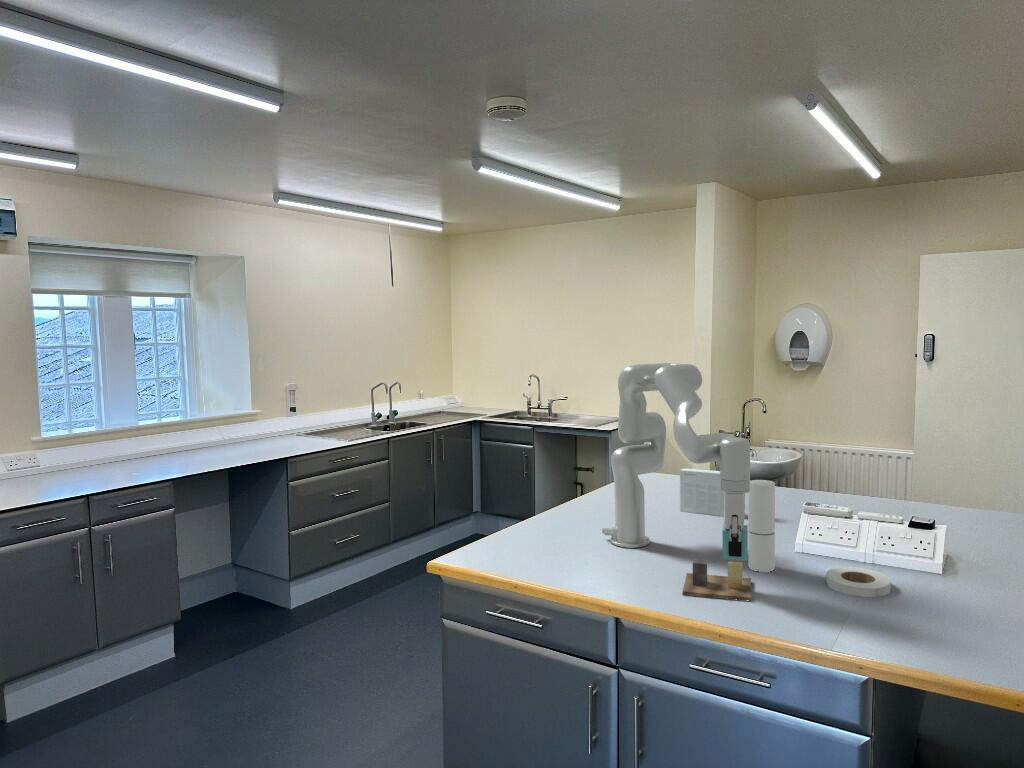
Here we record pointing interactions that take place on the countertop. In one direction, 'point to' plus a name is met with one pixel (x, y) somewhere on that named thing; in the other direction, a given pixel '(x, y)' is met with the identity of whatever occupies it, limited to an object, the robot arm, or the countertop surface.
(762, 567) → the cylindrical container
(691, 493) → the skincare box
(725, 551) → the aqua foam cube
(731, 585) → the wooden post
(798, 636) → the countertop surface
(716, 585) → the walnut board
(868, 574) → the roll of tape
